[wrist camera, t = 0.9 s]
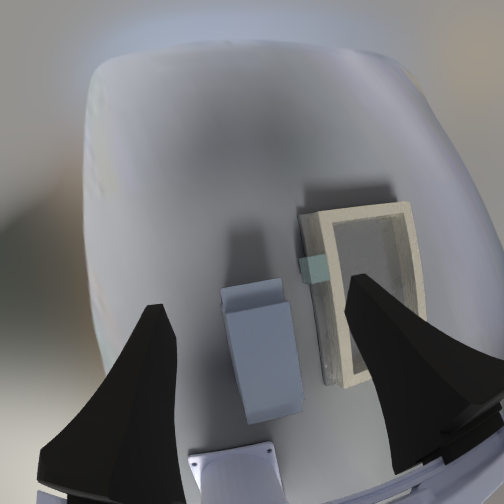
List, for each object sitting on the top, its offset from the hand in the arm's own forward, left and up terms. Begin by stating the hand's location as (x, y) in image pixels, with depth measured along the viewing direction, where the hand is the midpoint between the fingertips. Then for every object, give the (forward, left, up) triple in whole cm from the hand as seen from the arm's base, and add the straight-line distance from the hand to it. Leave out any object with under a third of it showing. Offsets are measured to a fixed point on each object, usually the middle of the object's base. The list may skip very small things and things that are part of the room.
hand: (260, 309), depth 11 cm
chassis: (-2, -12, -12) cm, 17 cm away
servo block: (-4, -1, -12) cm, 13 cm away
